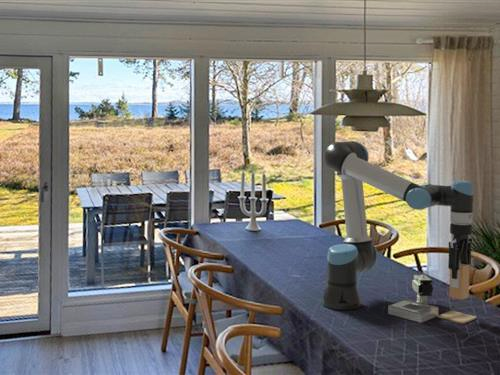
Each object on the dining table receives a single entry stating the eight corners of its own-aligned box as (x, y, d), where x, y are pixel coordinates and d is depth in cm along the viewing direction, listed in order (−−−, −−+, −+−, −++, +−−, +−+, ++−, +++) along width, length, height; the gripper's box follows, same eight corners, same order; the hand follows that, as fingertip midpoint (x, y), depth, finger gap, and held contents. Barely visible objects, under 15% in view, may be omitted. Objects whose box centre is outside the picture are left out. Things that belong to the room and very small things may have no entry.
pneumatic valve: (422, 299, 236) (423, 271, 235) (432, 308, 224) (433, 278, 223) (409, 299, 236) (410, 271, 234) (418, 308, 224) (419, 278, 223)
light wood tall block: (449, 297, 212) (450, 264, 211) (456, 294, 216) (456, 262, 215) (462, 299, 209) (462, 266, 208) (468, 297, 212) (469, 264, 211)
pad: (437, 317, 214) (438, 315, 214) (451, 311, 220) (451, 310, 220) (463, 324, 206) (463, 322, 206) (476, 318, 213) (476, 316, 213)
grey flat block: (388, 313, 218) (388, 305, 217) (405, 307, 226) (405, 298, 226) (421, 322, 208) (421, 314, 207) (438, 315, 216) (438, 307, 215)
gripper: (458, 227, 201) (456, 292, 203) (482, 221, 213) (480, 283, 215) (439, 224, 206) (437, 288, 209) (463, 219, 219) (461, 279, 221)
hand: (459, 285), depth 212 cm, fingers closed on light wood tall block, 5 cm apart
